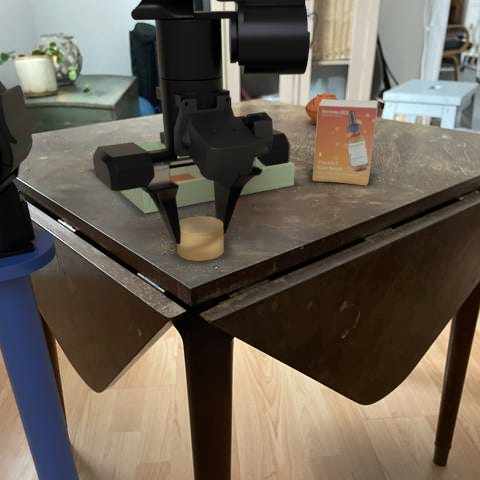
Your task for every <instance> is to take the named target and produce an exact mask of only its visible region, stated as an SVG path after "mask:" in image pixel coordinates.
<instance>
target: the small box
mask: <svg viewBox="0 0 480 480" xmlns="http://www.w3.org/2000/svg"><path fill="white" fill-rule="evenodd" d="M378 108H379V101H378V100H376V99H375V100H373V99H372V100H358V99H357V100H355V99H354V100H353V99H338V100H329V99H322V101H321V102H320V104H319V105H318V112H317V122H316V126H315V127H316V128H315V138H314V139H315V141H314V153H313V165H312V168H313V169H312V182H327V183H340V184H351V185H359V186H368V184H369V180H370V173H371V167H372V166H371V165H372V157H373V152H374V151H373V149H374V141H375V133H376V125H377V116H378Z"/></svg>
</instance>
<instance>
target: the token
mask: <svg viewBox="0 0 480 480" xmlns="http://www.w3.org/2000/svg"><path fill="white" fill-rule="evenodd" d="M179 224H180V231H181V242H180V244H176V253H177V255H178V256H179V257H180V258H181V259H184V260H187V261H192V262H202V261H203V262H204V261H210V260H211V261H212V260H215V259H217V258H220V257H221V256H222V255H223V254H224V252H225V236H224V235H225V234H224V227H223V222H222V221H221V220H219V219H217V218H216V217H214V216H206V215H197V216H189V217H185V218H182V219H179Z"/></svg>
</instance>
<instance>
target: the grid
mask: <svg viewBox="0 0 480 480" xmlns="http://www.w3.org/2000/svg"><path fill="white" fill-rule="evenodd" d="M135 144H136V145H138V146H140V147H141V148H143V149H145V150H146V151H152V150H159V149H165V145H164V144H162V143H161V141H160V140H157V141H150V142H142V143H135ZM95 151H96V149H92V150H91V155H92V157H93V156H94V153H95ZM186 157H188V156H186ZM178 158H182V157H179V156H178ZM255 166H256V167H258V168H260V169H262V173H261V174H260V175H258V176H255V177H253V178H252V179H251V180H250V181H249V182H248V183H246V184H245V186H244V187H243V190H242V192H241V194H240V196H244V195H245V196H246V195H249V194H254V193H260V192H266V191H271V190H275V189H276V190H277V189H282V188H287V187H292V186H295V167H296V164H295V162H292V161H291V160H290V161H289V163H285V164H279V165H273V166H267V167H266V166H264V165H263V164H262V163H261V162H260V161H259V160H258V159H257V157H256V160H255ZM170 178H171V180H172V181H173V182H175V183H176V184H178V185H179V188H178V191H177V195H176V202H177V208H182V207H187V206H192V205H197V204H203V203H207V202H213V201H214V202H215V195H214V181H212V180H208V179H206V178H204V177H203V176H202V175H201V173H200V170H199V168H198V167H197V165H192V166H186V167H180V168H173V169H170ZM119 193H121V194H122V196H124V197H125V198H126V199H128V200H129V202H130V203H132V204H133V205H134V206H135V207H137V208H138V209H139V210H140V211H141V212H142V213H144V214H150V213H156V212H159V211H158V209H157V207H156V205H155V203H154V202H153V200H152V198H151V197H150V195H149V194H148V193H146V192H145V191H144V190H142V189H141V188H136V189H130V190H124V191H119Z"/></svg>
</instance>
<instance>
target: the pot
mask: <svg viewBox="0 0 480 480" xmlns="http://www.w3.org/2000/svg"><path fill="white" fill-rule="evenodd" d="M322 99H329V100H339V99H338V98H337V95H336V94H332V93H320V94H319V93H318V94H316V96H315V97H313V98H312V99H310V100H309V101H308V102H307V103H306V105H305V108H304V110H305V112H306V114H307V115H308V117H309V118H310V119H311V121H312V124H313V125H315V124H316V123H317V112H318V105H319V104H320V102H321V101H322Z"/></svg>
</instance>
